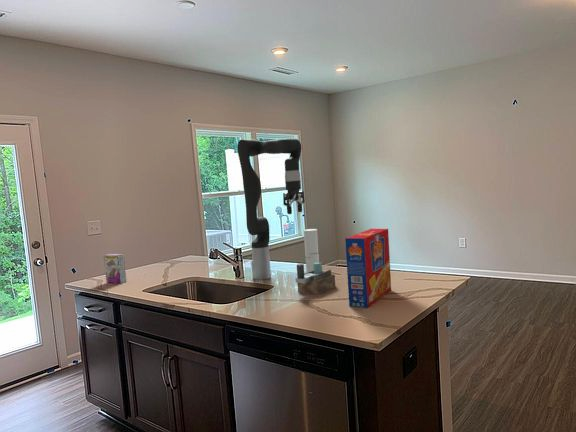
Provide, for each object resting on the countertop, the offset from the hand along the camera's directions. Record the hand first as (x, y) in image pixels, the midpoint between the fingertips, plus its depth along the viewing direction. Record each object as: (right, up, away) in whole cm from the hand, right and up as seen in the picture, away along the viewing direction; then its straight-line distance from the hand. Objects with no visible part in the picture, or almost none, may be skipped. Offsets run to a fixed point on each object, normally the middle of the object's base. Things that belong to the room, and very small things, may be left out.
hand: (294, 213), depth 218 cm
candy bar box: (-102, -40, +38) cm, 116 cm away
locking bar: (+5, -31, -15) cm, 35 cm away
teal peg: (+11, -36, -6) cm, 38 cm away
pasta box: (+32, -37, -29) cm, 57 cm away
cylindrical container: (+10, -34, +20) cm, 41 cm away
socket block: (+10, -36, -8) cm, 38 cm away
